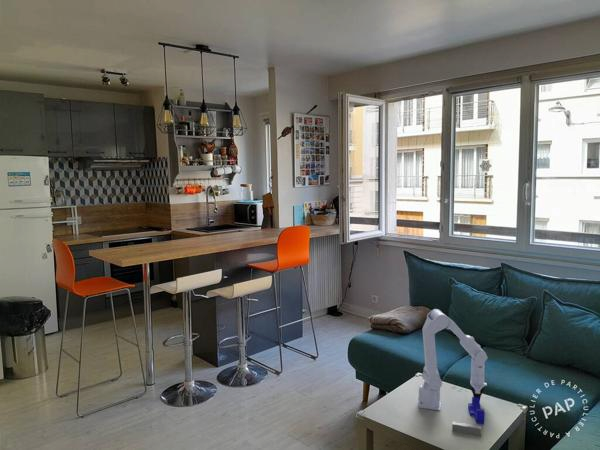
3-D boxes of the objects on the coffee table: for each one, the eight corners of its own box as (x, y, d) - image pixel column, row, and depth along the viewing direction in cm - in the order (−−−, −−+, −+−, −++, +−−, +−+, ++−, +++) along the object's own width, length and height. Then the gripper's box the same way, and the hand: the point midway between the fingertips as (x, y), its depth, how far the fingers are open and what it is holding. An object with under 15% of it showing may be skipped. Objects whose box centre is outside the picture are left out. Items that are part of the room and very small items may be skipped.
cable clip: (468, 409, 205) (468, 396, 204) (478, 410, 204) (479, 397, 203) (472, 423, 193) (473, 410, 193) (484, 424, 192) (484, 411, 192)
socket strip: (452, 430, 188) (452, 424, 187) (452, 428, 190) (452, 421, 189) (480, 435, 184) (481, 428, 184) (480, 433, 186) (480, 426, 186)
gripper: (487, 381, 200) (486, 410, 201) (486, 368, 213) (485, 395, 215) (470, 379, 202) (469, 408, 203) (470, 366, 215) (469, 393, 217)
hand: (476, 401), depth 209 cm, fingers closed
